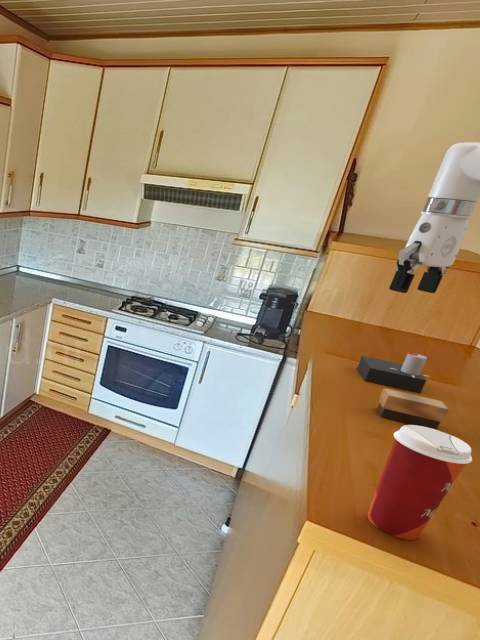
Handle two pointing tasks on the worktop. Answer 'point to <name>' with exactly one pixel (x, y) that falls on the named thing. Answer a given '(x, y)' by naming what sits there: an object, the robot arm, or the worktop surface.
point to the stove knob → (413, 364)
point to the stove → (389, 374)
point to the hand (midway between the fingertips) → (411, 291)
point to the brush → (411, 409)
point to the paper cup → (416, 479)
